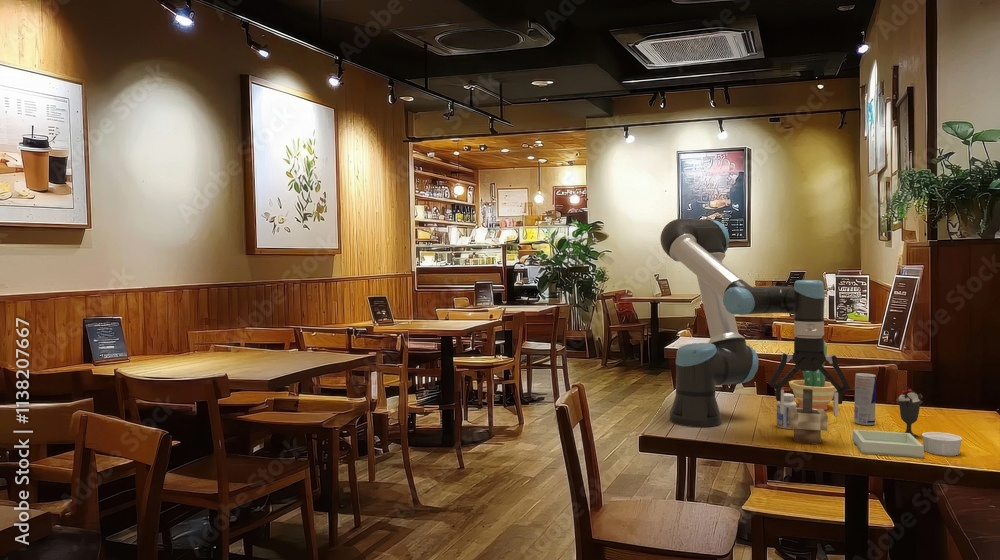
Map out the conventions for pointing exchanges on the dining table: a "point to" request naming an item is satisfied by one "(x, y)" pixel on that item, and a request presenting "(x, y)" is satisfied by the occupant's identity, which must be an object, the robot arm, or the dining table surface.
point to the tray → (888, 443)
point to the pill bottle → (785, 411)
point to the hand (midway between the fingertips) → (808, 414)
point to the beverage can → (865, 399)
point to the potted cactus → (814, 387)
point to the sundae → (909, 408)
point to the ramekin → (941, 443)
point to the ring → (807, 419)
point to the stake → (805, 434)
